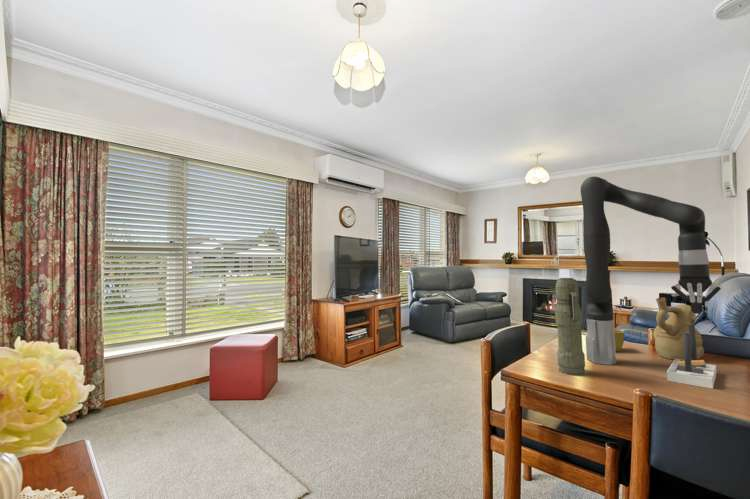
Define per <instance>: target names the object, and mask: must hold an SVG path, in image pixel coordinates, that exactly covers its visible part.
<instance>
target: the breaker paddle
mask: <svg viewBox="0 0 750 499" xmlns="http://www.w3.org/2000/svg"><path fill="white" fill-rule="evenodd" d="M705 362H706V361H705V360H704V359H697V360H692V361H691V365H692V367H693V365H705ZM677 364H678V365H684V366H685V361H678V362H677Z"/></svg>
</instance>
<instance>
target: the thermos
mask: <svg viewBox="0 0 750 499" xmlns="http://www.w3.org/2000/svg"><path fill="white" fill-rule="evenodd" d="M579 293H580V292H579V284H578V283H577V280H576V279H575V278H574V277H564V278H563V277H561V278H558V279H557V280H556V283H555V299H556V306H555V308H554V309H555V310H554V314H555V326H557V340H558V341H557V344H558V351H557V353H556V354H557V364H558V371H559V372H560V371H561V372H560V373H562V374H564V373H566V374H565V375H569V376H582V375H585V374H586V370H585V368H586V358H585V353H584V351H583V335H582V327H583V313H582V312H583V311H582V309H581V306H580V302H579V300H580V294H579Z"/></svg>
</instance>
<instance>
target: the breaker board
mask: <svg viewBox="0 0 750 499" xmlns="http://www.w3.org/2000/svg"><path fill="white" fill-rule="evenodd" d="M678 361H685V359H675V360H673V361H672V363H671V364H670V366H669V367H668V368H667V370H666V381H668V382H673V383H680V384H685V385H690V386H691V385H692V386H695V387H696V386H697V387H702V388H708V389H711V390H712V389H714V386H715V382H716V378H717V375H716V374H718V373H717V364H716V365H715V364H710V363H706V361H704V362H705V365H693V367H692V372H687V371H685V366H684V365H678V364H677V362H678ZM691 361H692V360H691Z"/></svg>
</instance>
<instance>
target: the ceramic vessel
mask: <svg viewBox="0 0 750 499" xmlns="http://www.w3.org/2000/svg"><path fill="white" fill-rule="evenodd" d="M655 300H656V303H657V308H658V310H657V313H656V316H655V317H656V318H655V319H656V324H657V325H656V326H655V328H654V329H653V333H652V337H653V339H654V347H655V351H656V353H657V355H659V357H661V358H665V359H668V360H669V359H670V360H673V361H674V360H675V359H684V345H683V333H684V332H687V333H689V325H694V324H695V322H696V320H697V319H696V318H697V314H694V312H692V311H691V305H689V304H678V305H677V304H676V305H674V306H672V305H671V306H668V304H667V300H666V298H665V297H657V298H655ZM667 314H668V318H667V319H666V320H665V317H666V315H667ZM695 337H696V351H697V360H700V359H701V358H702V357H703V355H704V353H705V348H704V347H703V338H702V335H701V333H700V331H699V329H697V328H696V327H695ZM689 338H690V337H689ZM690 352H691V350H690Z"/></svg>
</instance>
